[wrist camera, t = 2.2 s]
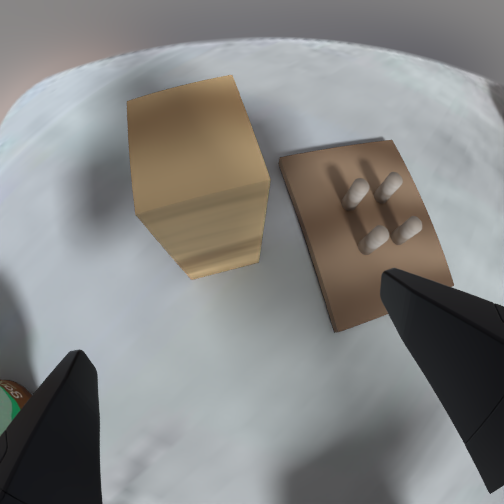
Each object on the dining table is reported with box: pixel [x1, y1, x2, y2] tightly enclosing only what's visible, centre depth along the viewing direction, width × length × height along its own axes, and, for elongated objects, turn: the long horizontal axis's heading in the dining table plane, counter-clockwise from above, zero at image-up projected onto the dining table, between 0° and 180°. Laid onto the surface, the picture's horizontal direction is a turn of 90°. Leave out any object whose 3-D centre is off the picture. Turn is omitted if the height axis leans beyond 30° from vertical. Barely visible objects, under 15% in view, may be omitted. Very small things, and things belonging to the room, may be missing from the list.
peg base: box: [279, 140, 454, 333], centre depth 21 cm, size 14×11×4 cm
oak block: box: [127, 75, 271, 280], centre depth 17 cm, size 6×5×12 cm
